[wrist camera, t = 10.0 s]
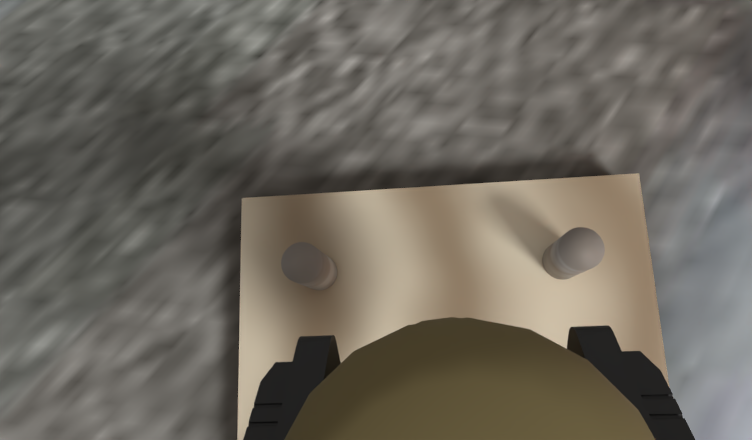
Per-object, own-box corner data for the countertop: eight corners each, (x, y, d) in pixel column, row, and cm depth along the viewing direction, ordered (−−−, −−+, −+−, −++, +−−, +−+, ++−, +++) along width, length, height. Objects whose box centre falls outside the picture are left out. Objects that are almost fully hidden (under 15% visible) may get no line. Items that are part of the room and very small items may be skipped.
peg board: (250, 607, 24) (196, 685, 19) (255, 207, 28) (212, 177, 22) (681, 613, 22) (759, 700, 17) (623, 185, 26) (672, 146, 21)
